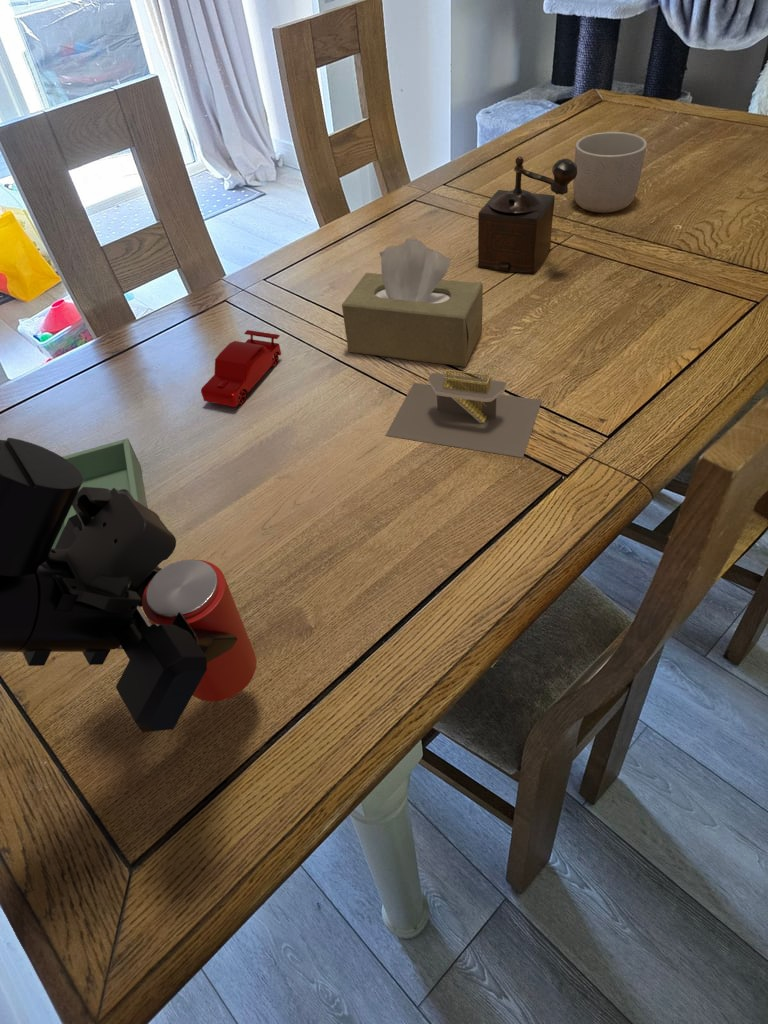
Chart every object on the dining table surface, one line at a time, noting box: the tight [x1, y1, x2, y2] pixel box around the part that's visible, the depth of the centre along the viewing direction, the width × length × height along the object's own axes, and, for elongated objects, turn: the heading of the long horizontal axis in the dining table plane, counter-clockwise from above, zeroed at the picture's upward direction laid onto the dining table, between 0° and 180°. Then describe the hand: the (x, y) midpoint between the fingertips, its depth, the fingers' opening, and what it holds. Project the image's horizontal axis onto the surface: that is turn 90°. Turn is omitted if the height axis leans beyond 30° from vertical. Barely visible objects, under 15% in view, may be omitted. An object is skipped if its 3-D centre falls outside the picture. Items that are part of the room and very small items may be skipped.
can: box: [142, 559, 258, 703], centre depth 57 cm, size 6×6×12 cm
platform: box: [385, 369, 543, 459], centre depth 89 cm, size 12×18×7 cm, turn 70°
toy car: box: [200, 329, 282, 408], centre depth 100 cm, size 14×6×5 cm, turn 158°
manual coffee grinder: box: [477, 156, 577, 274], centre depth 114 cm, size 16×11×18 cm
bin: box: [52, 438, 159, 567], centre depth 81 cm, size 10×21×5 cm, turn 20°
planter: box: [572, 131, 648, 214], centre depth 129 cm, size 12×12×11 cm
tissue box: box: [341, 237, 484, 368], centre depth 100 cm, size 19×10×16 cm, turn 70°
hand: (214, 615), depth 56 cm, fingers closed on can, 6 cm apart
